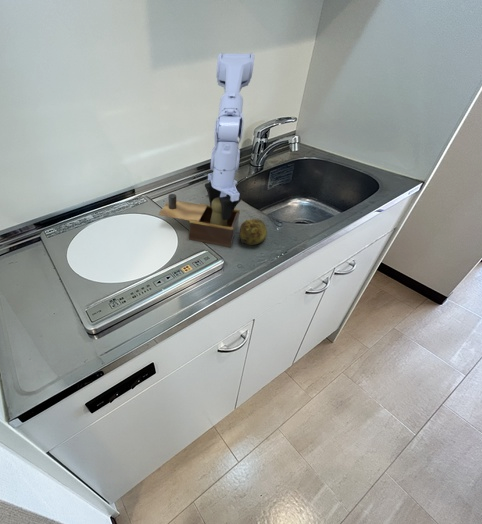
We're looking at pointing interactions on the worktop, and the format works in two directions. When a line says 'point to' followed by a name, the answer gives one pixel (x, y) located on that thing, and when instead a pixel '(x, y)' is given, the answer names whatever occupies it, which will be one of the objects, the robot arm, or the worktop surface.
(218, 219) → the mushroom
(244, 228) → the potato
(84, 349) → the worktop surface
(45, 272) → the worktop surface
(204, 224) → the box
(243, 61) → the robot arm
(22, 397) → the worktop surface
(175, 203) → the sliding lid
